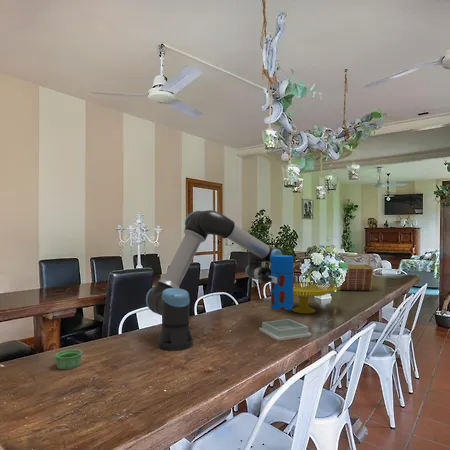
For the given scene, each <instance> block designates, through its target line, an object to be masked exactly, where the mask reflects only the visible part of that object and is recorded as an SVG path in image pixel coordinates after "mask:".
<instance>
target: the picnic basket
mask: <svg viewBox="0 0 450 450" xmlns="http://www.w3.org/2000/svg"><path fill="white" fill-rule="evenodd" d="M337 254H338V255H337V256H345V257H347V258H357V257H361V256H368V261H367V264H347V265H348V270H347V273H346V277H345V281H344V282H343V284H342V285H341V286H340V287H338V289H337V291H362V292H363V291H367V292H371V291H372V287H373V278H374V272H375V271H374V270H375V269H374V266H372V265H370V264H371V255H370V254H368V253H360V254H345V253H337Z"/></svg>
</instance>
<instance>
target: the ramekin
mask: <svg viewBox="0 0 450 450" xmlns="http://www.w3.org/2000/svg"><path fill="white" fill-rule="evenodd" d="M82 355H83V351H82V350H80V349H65V350H60V351H59V352H57V353H56V354H55V355H54V357H55V362H56V367H57V369H59V370H70V369H74V368H77V367H79V366H80V365H81V363H82Z"/></svg>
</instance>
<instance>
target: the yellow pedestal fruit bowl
mask: <svg viewBox="0 0 450 450" xmlns="http://www.w3.org/2000/svg"><path fill="white" fill-rule="evenodd" d="M335 291H338V288H337V287H335V285H332V284H328V283H322V282H311V281H298V282H294V281H293V297H294V296H296V297H298V300H299V301H298V302H299V306H296V307H293V309H291V311H293V312H294V313H300V314H312V313H316V310H315V309H314V308H312V307H310V306H309V298H310V297H320V296H321V297H322V296H325V295H328V294H330V293H332V292H335Z"/></svg>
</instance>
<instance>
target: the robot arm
mask: <svg viewBox="0 0 450 450" xmlns="http://www.w3.org/2000/svg"><path fill="white" fill-rule="evenodd" d="M184 225H185V226H184V230H183V233H184V236H183V239H182V240H181V243H180V244H179V246H178V248H177V250H176V252H175V254H174V255H173V257H172V260H171V262H170V264H169V266H168V268H167V269H166V271H165V274H164V275H163V278H162V279H159V280H157V282H156V284H155V286H154V287H152V288H150V289H149V290H148V291H147V293H146V295H145V296H146V297H145V304H146V306H147V308H148V309H149V310H150V311H151V312H152V313H154V314H155V315H158V316H161V329H160V331H159V335H158V338H157V347H158V348H160V349H162V350H165V351H180V350H186V349H189V348H191V347H192V346H193V345H194V338H193V334H192V331H191V328H190V301H191V300H190V294H189V291H187V290H186V289H183V288H180V287H181V284H182V281H183V279H185V278H184V277H185V276H186V274H187V272H188V269H189V267H190V266H191V263H192V261H193V259H194V257H195V255H196V253H197V251H198V250H199V247H200V245H201V244H202V243H204V242H206V240H207V238H208V236H209V235H212V236H213V235H214V236H218V237H220V238H222V239H228V240H230V242H231V241H232V242H233V243H234V244H237V245H238V246H240V247H241V248H243V249H244V250H247V253H248V265H247V266H246V267H245V271H244V272H245V276H247V277H248V278H250V279H252V280H255V281H256V280H257V281H260V283H262V282H264V283H267V284H268V283H271V282H272V283H277V277H273V276H271V267H270V268H269V267H265V266H263V263H269V264H271V256H273V255H283V253H282V251H281V250H280V249H279V248H273V247H271V246H269V245H268V244H266V243H265V242H263V241H261V240H260V239H258V238H257V237H255V236H253V235H252V234H250V233H249V232H247V231H246V230H244V229H243V228H241V227H239V226H237V225H236V223H235V221H234V220H232V219H230V217H228V216H226V215H224V214H223V213H220V212H219V211H217V210H212V209H211V210H196V211H193V212H191V213H189V214H188V215H187V216H186V218H185V221H184ZM298 278H299V277H298V275H294V273H293V282H295V283H296V282H298V283H299V280H298Z"/></svg>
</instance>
